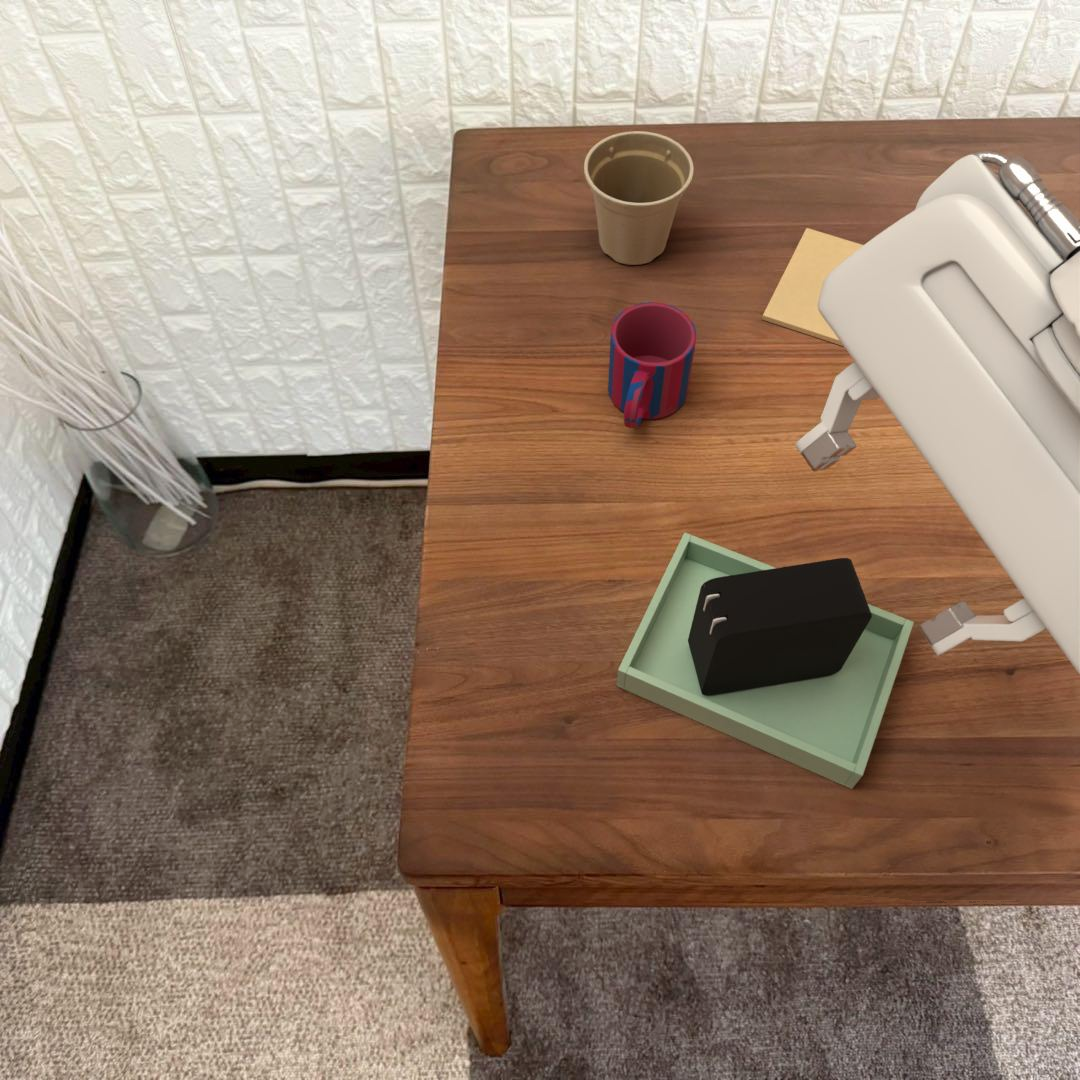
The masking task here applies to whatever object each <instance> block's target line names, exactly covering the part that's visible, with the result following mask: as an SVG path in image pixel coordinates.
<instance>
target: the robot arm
mask: <svg viewBox="0 0 1080 1080" xmlns="http://www.w3.org/2000/svg"><path fill="white" fill-rule="evenodd" d="M989 163H990V164H994V165H997V167H999V169H998V171H997V174H996V173H995V171H994V170H993V169H992V168H991V167H990V165H989ZM862 245H863V246H862V247H861V248H859V249H858V250H857V251H856V252H854V253H853V254H852V255H850V256H849V257H848V258H847V259H846V260H844V261H843V262H842V263H841V264H840V265H838V266H837V267H836V268H835V269H834V270H833V271H832V272H830V273H829V274H828V275H827V277H826V278H825V280H824V282H823V285H822V289H821V293H820V297H819V301H818V310H819V312H820V314H821V315H822V317H823V318H824V319H825V321H826V322H827V323H828V325H829V326H830V328H831V329H832V330H833V332H834V333H835V335H836V336H837V337H838V339H839V340H840V342H841V343H842V344H843V346H842V347H844V348H845V350H846V351H847V353H848V354H849V355H850V357H851V358H852V360H853V362H851V364H848V366H846V367H845V368H844V369H843V370H842V371H841V372H840V373H838V374H837V375H836V376H835V377H834V380H833V382H832V385H831V388H830V392H829V393H828V397H827V399H826V402H825V404H824V408H823V409H822V412H821V415H820V418H819V419H820V422H819V423H818V424H817V425H815V426H814V427H813V428H812V429H810V430H809V431H808V432H807V433H806V434H804V435H802V437H801V438H799V439H798V440H797V441H796V442H795V444H794V446H795V448H796V449H797V451H798V452H799V454H800V455H801V457H802V458H803V459H804V461H805V462H806V463H807V465H808V466H809V467H810V469H811V470H812V471H813V472H817V471H825V470H827V469H829V468H831V467H832V466H834V465H835V464H836V463H838V462H839V460H840V457H841V456H847V455H848V454H850V453H851V452H852V451H853V450H854V449H856V448H857V447H858V445H857V444H856V442H855V440H854V438H853V437H852V436H851V435H850V433H849V430H850V428H851V427H852V424H853V421H854V419H855V418H856V415H857V413H858V410H859V408H860V406H861V403H862V401H872V400H873V401H875V400H878V399H881V401H882V402H883V403H884V404H885V406H886V407H887V409H888V410H889V411H890V413H891V414H892V416H893V417H894V418H895V420H896V421H897V423H898V424H899V425H900V427H901V429H902V430H903V432H905V434H906V435H907V437H908V438H909V439H910V441H911V442H912V443H913V445H914V446H915V448H916V449H917V450H918V452H919V453H920V455H921V456H922V457H923V459H924V461H926V463H927V465H928V466H929V467H930V469H931V470H932V471H933V473H934V474H935V476H936V477H937V478H938V480H939V481H940V482H941V484H942V485H943V487H944V488H945V489H946V491H947V492H948V494H949V495H950V497H951V498H952V500H954V502H955V504H956V505H957V506H958V507H959V509H960V511H961V512H962V513H963V514H964V516H965V517H966V519H967V520H968V522H969V523H970V524H971V526H972V527H973V529H974V530H975V531H976V533H977V534H978V535H979V537H980V538H981V540H982V541H983V542H984V544H985V545H986V546H987V548H988V550H989V551H990V552H991V554H992V555H993V556H994V558H995V559H996V561H997V562H998V564H999V565H1000V566H1001V568H1002V569H1003V571H1005V573H1006V575H1007V576H1008V577H1009V578H1010V580H1011V582H1012V583H1013V584H1014V586H1015V587H1016V588H1017V590H1018V592H1019V593H1020V594H1021V595H1022V597H1023V598H1021V599H1020V600H1018V601H1017V602H1015V603H1013V604H1012V605H1010V606H1008V607H1006V608H1005V609H1003V614H995V615H994V614H989V615H982V614H981V615H976V614H975V612H974V611H973V610H972V608H971V607H970V605H969V604H968V603H967V602H966V600H961V601H959V602H958V603H956V604H953V605H951V606H949V607H947V608H946V609H944V610H942V611H940V612H938V613H937V614H936V615H935V616H933V617H931V618H929V619H927V620H925V621H924V622H922V623H921V624H919V625H918V626H917V627H918V629H919V631H920V633H921V634H922V636H923V637H924V639H925V640H926V641H927V643H928V645H929V646H930V647H931V649H932V650H933V652H934V653H935V655H936V656H937V657H939V656H941V655H943V654H945V653H946V652H948V651H950V650H952V649H954V648H955V647H957V646H959V645H960V644H962V643H964V642H966V641H967V640H969V639H971V640H972V641H988V642H990V641H991V642H992V641H993V642H1024V641H1026V640H1028V639H1030V638H1032V637H1033V636H1035V635H1037V634H1039V633H1041V632H1042V631H1044V630H1047V632H1048V633H1049V634H1050V636H1051V637H1052V639H1053V640H1054V641H1055V643H1056V645H1057V646H1058V647H1059V648H1060V650H1061V652H1063V654H1064V655H1065V657H1066V658H1067V660H1068V661H1069V662H1070V664H1071V665H1072V667H1073V668H1074V669H1075V670H1076V672H1077V674H1078V675H1079V676H1080V221H1079V219H1078V218H1077V217H1076V216H1075V215H1074V214H1073V213H1072V212H1071V210H1070V209H1069V208H1068V207H1067V206H1065V204H1063V203H1062V202H1061V201H1060V200H1058V198H1057V197H1056V196H1055V195H1053V193H1051V191H1050V190H1049V189H1048V188H1047V187H1046V185H1045V183H1043V178H1042V177H1041V175H1040V173H1039V172H1038V171H1037V170H1036V168H1035V167H1034V166H1033V165H1032V164H1031V163H1030V162H1028V161H1027V160H1026V159H1024V158H1023V157H1021V156H1020V155H1016V156H1013V157H1012V158H1009V156H1007V155H1005V154H1003V153H1000V152H995V151H991V150H984V151H983V150H981V151H977V152H972V153H970V154H969V153H968V154H967V155H964V156H963V157H961V158H959V159H957V160H956V161H955V162H954V163H952V165H950V166H949V167H948V168H947V169H946V170H945V171H944V172H942V174H940V175H939V176H938V177H937V178H936V179H935V180H934V181H933V182H931V184H929V186H928V187H927V188H926V189H924V191H923V192H922V194H921V196H920V197H919V199H918V201H917V202H916V205H915V209H914V210H912V211H911V212H910V213H907V214H906V215H905V216H902V218H900V219H899V220H897V221H896V222H894V223H892V224H891V225H889V226H888V227H886V228H885V229H884V230H883V231H881V232H879V233H878V234H877V235H875V236H873V238H871V239H870V240H869V241H867V242H866V243H865V244H862Z"/></svg>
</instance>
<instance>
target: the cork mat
mask: <svg viewBox="0 0 1080 1080" xmlns="http://www.w3.org/2000/svg"><path fill="white" fill-rule="evenodd" d="M863 245H864V244H861V243H858V242H855V241H851V240H848V239H845V238H842V237H838V236H836V235H832V234H829V233H825V232H822V231H818V230H815V229H812V228H809V227H805V230H804V232H803V234H802V236H801V238H800V240H799V241H798V244H797V246H796V248H795V250H794V252H793V254H792V256H791V257H790V260H789V262H788V264H787V265H786V268H785V270H784V272H783V273H782V276H781V278H780V280H779V282H778V283H777V286H776V288H775V290H774V292H773V294H772V295H771V298H770V300H769V301H768V304H767V306H766V307H765V310H764V311H763V314H762V317H761V320H763V321H765V322H768V323H770V324H771V323H772V324H774V325H776V326H781V327H783V328H787V329H789V330H792V331H796V332H798V333H802V334H804V335H808V336H811V337H813V338H817V339H820V340H823V341H825V342H829V343H831V344H835V345H838V346H840V347H844V346H843V344H842V343H841V342H840V340H839V339H838V337H837V336H836V335H835V333H834V332H833V330H832V329H831V328H830V326H829V325H828V323H827V322H826V321H825V319H824V318H823V317H822V315H821V314H820V312H819V310H818V301H819V297H820V293H821V289H822V285H823V282H824V280H825V278H826V277H827V275H828V274H829V273H830V272H832V271H833V270H834V269H835V268H836V267H837V266H838V265H840V264H841V263H842V262H843V261H844V260H846V259H847V258H848V257H849V256H850V255H852V254H853V253H854V252H856V251H857V250H858V249H859V248H861V247H862V246H863Z"/></svg>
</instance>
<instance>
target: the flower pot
mask: <svg viewBox="0 0 1080 1080" xmlns="http://www.w3.org/2000/svg"><path fill="white" fill-rule="evenodd" d="M694 169H695V168H694V162H693V159H692V157H691V155H690V154H689V152H688V151H687V150H686V148H685V147H684V146H683V145H682V144H680V142H677V141H676V140H675V139H673V138H671V137H669V136H666V135H663V134H661V133H656V132H650V131H645V130H644V131H642V130H633V131H632V130H631V131H625V132H623V131H622V132H618V133H615V134H611V135H608V136H607V137H604V138H603V139H601V140H600V141H598V142H597V143H596V144H594V145H593V146H592V147H591V148H590V149H589V151H588V152H587V154H586V156H585V159H584V162H583V173H584V178H585V180H586V182H587V184H588V186H589V189H590V191H591V194H592V195H593V202H594V209H595V216H596V223H597V231H598V233H597V234H598V243H599V246H600V248H601V251H602V252H603V253H604V254H605V255H608V256H609V257H610V258H611V259H612V260H613V261H615V262H616V263H619V264H622V265H628V266H639V265H644V264H648V263H651V262H652V261H653V260H654V259H656V258H657V257H658V256H660V255H662V254H663V253H664V251H665V250H666V249H665V248H666V246H667V242H668V239H669V235H670V232H671V229H672V225H673V223H674V219H675V216H676V212H677V209H678V205H679V202H680V200H681V199H682V197H683V196H684V194H685V192H686V190H687V189H688V188H689V186H690V185H691V182H692V181H693V178H694V171H695V170H694Z"/></svg>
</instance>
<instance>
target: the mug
mask: <svg viewBox="0 0 1080 1080" xmlns="http://www.w3.org/2000/svg"><path fill="white" fill-rule="evenodd" d="M696 342H697V330H696V327H695V325H694V322H693V321H692V319H691V318H690V317H689V315H687V313H685V312H684V311H682V310H681V309H679V308H678V307H675V306H673V305H671V304H667V303H664V302H657V301H656V302H652V301H650V302H641V303H636V304H634V305H632V306H631V305H630V306H629V307H628V308H626V309H624V310H623V311H621V312H620V313H619V314H618V315H617V317H615V319H614V321H613V323H612V324H611V329H610V341H609V343H610V344H609V361H608V364H609V365H608V377H607V378H608V380H607V392H608V396H609V398H610V400H611V402H612V403H613V404H614V406H615V407H616V408H617V409H618V410H620V411H621V412H623V424H624V427H626V428H628V429H637V428H638V427H640V424H641V422H642V420H658V419H663V418H666V417H668V416H671V415H672V414H674V413H675V412H677V411H678V410H679V409H680V408H681V407H682V406H683V405H684V403H685V401H686V399H687V397H688V391H689V385H690V379H691V374H692V368H693V367H692V366H693V362H694V361H693V360H694V354H695V348H696Z"/></svg>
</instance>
